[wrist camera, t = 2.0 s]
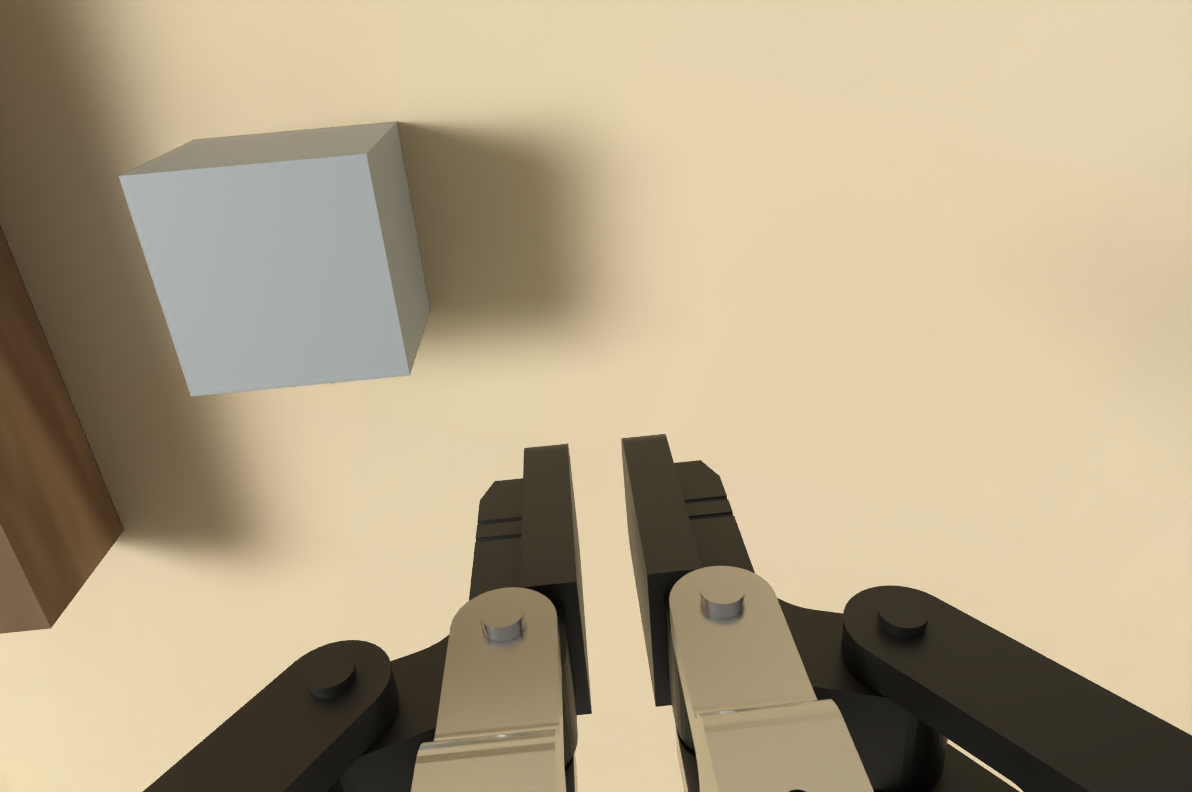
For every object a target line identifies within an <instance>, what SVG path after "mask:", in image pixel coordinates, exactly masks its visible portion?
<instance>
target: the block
mask: <svg viewBox="0 0 1192 792" xmlns="http://www.w3.org/2000/svg"><path fill="white" fill-rule="evenodd" d="M118 177H119V180H120V183H121V186H122V189H123V192H124V195H125V198H126V201H127V204H128V207H129V210H130V213H131V216H132V219H133V222H134V225H135V228H136V231H137V234H138V238H139V241H140V244H141V247H142V250H143V253H144V256H145V259H146V262H147V265H148V268H149V271H150V274H151V277H152V280H153V283H154V286H155V289H156V292H157V295H158V298H159V301H160V304H161V307H162V310H163V313H164V316H165V319H166V322H167V326H168V329H169V332H170V335H171V338H172V341H173V344H174V347H175V350H176V353H177V356H178V359H179V362H180V365H181V368H182V371H183V374H184V377H185V380H186V383H187V386H188V389H189V392H190V395H191V397H192V396H202V395H212V394H223V393H233V392H244V391H254V390H264V389H275V388H285V387H296V386H306V385H316V384H327V383H337V382H347V381H358V380H368V379H379V378H389V377H399V376H410V373H411V370H412V367H413V364H414V360H415V357H416V354H417V351H418V348H419V345H420V341H421V338H422V335H423V332H424V329H425V326H426V323H427V319H428V316H429V313H430V306H429V300H428V294H427V289H426V283H425V277H424V272H423V266H422V260H421V255H420V249H419V243H418V238H417V232H416V226H415V221H414V215H413V209H412V204H411V198H410V192H409V187H408V181H407V175H406V170H405V164H404V158H403V153H402V147H401V141H400V136H399V130H398V124H397V122H386V123H375V124H364V125H353V126H342V127H330V128H319V129H308V130H297V131H286V132H275V133H264V134H252V135H241V136H230V137H219V138H208V139H197V140H192V141H190V142H188V143H186V144H184V145H182V146H180V147H178V148H176V149H174V150H172V151H170V152H168V153H165V154H163V155H161V156H159V157H157V158H155V159H153V160H151V161H149V162H147V163H145V164H143V165H141V166H138V167H136V168H134V169H132V170H130V171H128V172H126V173H124V174H122V175H120V176H118Z"/></svg>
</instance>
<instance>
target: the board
mask: <svg viewBox="0 0 1192 792" xmlns="http://www.w3.org/2000/svg"><path fill="white" fill-rule="evenodd" d="M123 531H124V530H123V528H122V526H121V523H120V521H119V518H118V516H117V513H116V511H115V508H114V506H113V503H112V501H111V498H110V496H109V493H108V491H107V489H106V486H105V484H104V481H103V479H102V476H101V474H100V471H99V469H98V466H97V464H96V461H95V459H94V457H93V454H92V452H91V449H90V447H89V444H88V442H87V439H86V437H85V434H84V432H83V429H82V427H81V424H80V422H79V420H78V417H77V415H76V412H75V410H74V407H73V405H72V402H71V400H70V397H69V395H68V392H67V390H66V388H65V385H64V383H63V380H62V378H61V375H60V373H59V370H58V368H57V365H56V363H55V360H54V358H53V355H52V353H51V351H50V348H49V346H48V343H47V341H46V338H45V336H44V333H43V331H42V328H41V326H40V323H39V321H38V319H37V316H36V314H35V311H34V309H33V306H32V304H31V301H30V299H29V296H28V294H27V291H26V289H25V286H24V284H23V282H22V279H21V277H20V274H19V272H18V269H17V267H16V264H15V262H14V259H13V257H12V254H11V252H10V250H9V247H8V245H7V242H6V240H5V237H4V235H3V232H2V230H1V227H0V633H10V632H20V631H29V630H39V629H48V628H51V627H52V626H53V625H54V623H55V622H56V621H57V619H58V618H59V617H60V615H61V614H62V613H63V611H64V610H65V609H66V607H67V606H68V605H69V603H70V602H71V601H72V599H73V598H74V597H75V595H76V594H77V593H78V591H79V590H80V589H81V587H82V586H83V584H84V583H85V582H86V580H87V579H88V578H89V576H90V575H91V574H92V572H93V571H94V570H95V568H96V567H97V566H98V564H99V563H100V562H101V560H102V559H103V558H104V556H105V555H106V554H107V552H108V551H109V550H110V548H111V547H112V546H113V544H114V543H115V542H116V540H117V539H118V537H119V536H120V535H121V533H122V532H123Z"/></svg>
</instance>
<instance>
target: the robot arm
mask: <svg viewBox="0 0 1192 792" xmlns="http://www.w3.org/2000/svg"><path fill="white" fill-rule="evenodd" d="M621 441H622V458H623V471H624V484H625V497H626V510H627V523H628V533H629V542H630V550H631V556H632V563H633V569H634V575H635V581H636V587H637V594H638V600H639V606H640V612H641V618H642V625H643V631H644V637H645V643H646V649H647V655H648V662H649V668H650V674H651V680H652V686H653V693H654V699H655V705H656V707H657V706H667V705H672V707H673V712H674V718H675V723H676V739H677V755H678V760H679V765H680V771H681V776H682V781H683V787H684V792H1019V791H1018V790H1016V789H1015V788H1013V787H1012V786H1010V785H1009V784H1007V783H1006V782H1004V781H1003V780H1001V779H1000V778H998V777H997V776H995V775H994V774H992V773H991V772H989V771H988V770H986V769H985V768H983V767H982V766H980V765H979V764H977V763H976V762H975V761H973V760H972V759H970V758H969V757H967V756H966V755H964V754H963V753H961V752H960V751H958V750H957V749H955V748H954V747H952V746H951V745H949V744H948V743H947V740H948V739H949V740H951V741H952V742H954V743H955V744H957V745H958V746H960V747H961V748H963V749H964V750H966V751H967V752H969V753H970V754H972V755H973V756H975V757H976V758H978V759H979V760H981V761H982V762H984V763H985V764H987V765H988V766H990V767H991V768H993V769H994V770H996V771H997V772H999V773H1000V774H1002V775H1003V776H1005V777H1006V778H1008V779H1009V780H1011V781H1012V782H1013V783H1015V784H1016V785H1017V786H1018V787H1019V788H1020V789H1022V791H1023V792H1192V735H1190V734H1188V733H1186V732H1184V731H1182V730H1180V729H1179V728H1177V727H1175V726H1173V725H1171V724H1169V723H1167V722H1166V721H1164V720H1162V719H1160V718H1158V717H1156V716H1155V715H1153V714H1151V713H1149V712H1147V711H1145V710H1143V709H1142V708H1140V707H1138V706H1136V705H1134V704H1132V703H1130V702H1129V701H1127V700H1125V699H1123V698H1121V697H1119V696H1118V695H1116V694H1114V693H1112V692H1110V691H1108V690H1106V689H1105V688H1103V687H1101V686H1099V685H1097V684H1095V683H1093V682H1092V681H1090V680H1088V679H1086V678H1084V677H1082V676H1080V675H1079V674H1077V673H1075V672H1073V671H1071V670H1069V669H1068V668H1066V667H1064V666H1062V665H1060V664H1058V663H1056V662H1055V661H1053V660H1051V659H1049V658H1047V657H1045V656H1043V655H1042V654H1040V653H1038V652H1036V651H1034V650H1032V649H1031V648H1029V647H1027V646H1025V645H1023V644H1021V643H1019V642H1018V641H1016V640H1014V639H1012V638H1010V637H1008V636H1006V635H1005V634H1003V633H1001V632H999V631H997V630H995V629H993V628H992V627H990V626H988V625H986V624H984V623H982V622H981V621H979V620H977V619H975V618H973V617H971V616H969V615H968V614H966V613H964V612H962V611H960V610H958V609H956V608H955V607H953V606H951V605H949V604H947V603H945V602H944V601H942V600H940V599H938V598H936V597H934V596H932V595H930V594H928V593H926V592H923V591H920V590H917V589H913V588H908V587H902V586H878V587H873V588H869V589H866V590H864V591H861V592H859V593H858V594H856V595H855V596H853V597H852V598H851V599H850V600H849V602H848V603H847V604H846V606H845V609H844V614H842V613H834V612H826V611H819V610H812V609H806V608H802V607H798V606H795V605H792V604H789V603H787V602H784V601H782V600H781V599H779V598H777V597H776V594H775V592H774V590H773V588H772V587H771V586H770V585H769V583H768V582H767V581H765V580H764V579H763V578H762V577H760V576H758V575H757V574H755V572H754V569H753V567H752V564H751V561H750V558H749V556H748V553H747V550H746V547H745V545H744V542H743V539H742V536H741V534H740V531H739V528H738V525H737V523H736V520H735V517H734V516H733V512H732V509H731V506H730V503H729V501H728V500H727V495H726V492H725V490H724V487H723V484H722V481H721V479H720V476H719V475H718V474H716V473H715V472H714V471H713V470H712V469H710V468H709V467H708V466H707V465H706V464H704V463H703V462H702V461H701V460H700V461H690V462H680V463H674V462H673V459H672V455H671V452H670V448H669V444H668V441H667V437H666V435H665V434H660V435H650V436H640V437H631V438H622V440H621ZM583 714H592V711H591V698H590V684H589V670H588V657H587V643H586V629H585V616H584V602H583V588H582V575H581V561H580V549H579V539H578V528H577V519H576V510H575V501H574V492H573V483H572V473H571V464H570V455H569V447H568V444H561V445H551V446H541V447H531V448H525V449H524V471H523V478H522V479H512V480H503V481H495V482H494V483H493V484H492V486H491V487H490V488H489V489H488V491H487V492H486V493H485V495H484V496H483V497H482V499H481V500H480V504H479V514H478V525H477V532H476V542H475V550H474V559H473V568H472V577H471V587H470V596H469V602H467V603H466V604H465V605H464V606H463V607H461V608H460V609H459V611H458V612H457V613H456V615H455V616H454V618H453V620H452V623H451V627H450V633H449V635H448V636H447V637H446V638H444V639H443V640H441V641H440V642H438V643H436V644H434V645H433V646H431V647H429V648H426V649H424V650H421V651H419V652H416V653H413V654H410V655H408V656H405V657H402V658H399V659H396V660H393V661H390V660H389V657H388V656H387V654H386V653H385V651H383V650H382V649H381V648H380V647H378V646H376V645H375V644H372V643H369V642H366V641H359V640H347V641H339V642H334V643H330V644H327V645H324V646H321V647H319V648H317V649H315V650H312V651H310V652H309V653H307V654H305V655H304V656H302V657H301V658H299V659H298V660H297V661H295V662H294V663H293V664H292V665H291V666H289V667H288V668H287V669H286V670H285V671H284V672H282V673H281V674H280V675H279V676H278V677H277V678H275V679H274V680H273V681H272V682H271V683H270V684H268V685H267V686H266V687H265V688H264V689H263V690H261V691H260V692H259V693H258V694H257V695H256V696H254V697H253V698H252V699H251V700H250V701H249V702H247V703H246V704H245V705H244V706H243V707H241V708H240V709H239V710H238V711H237V712H236V713H234V714H233V715H232V716H231V717H230V718H229V719H227V720H226V721H225V722H224V723H223V724H222V725H220V726H219V727H218V728H217V729H216V730H215V731H213V732H212V733H211V734H210V735H209V736H208V737H206V738H205V739H204V740H203V741H202V742H200V743H199V744H198V745H197V746H196V747H195V748H193V749H192V750H191V751H190V752H189V753H188V754H186V755H185V756H184V757H183V758H182V759H181V760H179V761H178V762H177V763H176V764H175V765H174V766H172V767H171V768H170V769H169V770H168V771H167V772H165V773H164V774H163V775H162V776H161V777H160V778H158V779H157V780H156V781H155V782H154V783H152V784H151V785H150V786H149V787H148V788H147V789H145V790H144V791H143V792H578V791H577V767H576V758H575V750H576V746H577V738H578V734H577V715H583Z"/></svg>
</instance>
